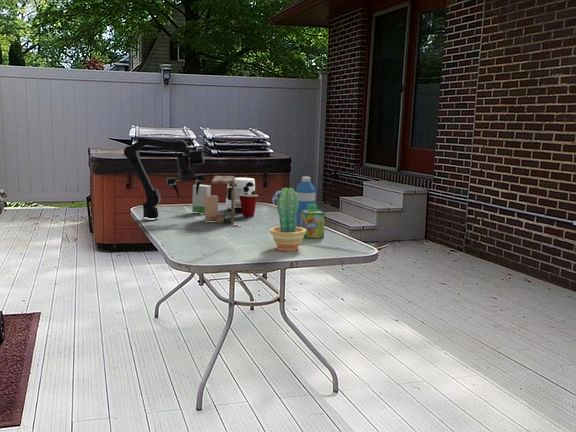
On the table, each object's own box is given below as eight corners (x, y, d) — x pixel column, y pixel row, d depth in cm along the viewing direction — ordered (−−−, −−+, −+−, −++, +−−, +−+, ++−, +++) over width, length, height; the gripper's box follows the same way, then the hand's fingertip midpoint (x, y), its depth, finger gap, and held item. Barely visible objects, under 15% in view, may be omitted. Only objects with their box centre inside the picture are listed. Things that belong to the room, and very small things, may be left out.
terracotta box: (205, 221, 299) (205, 196, 297) (206, 219, 304) (206, 195, 302) (217, 221, 299) (217, 197, 297) (217, 219, 305) (217, 195, 302)
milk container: (246, 207, 347) (246, 176, 344) (261, 211, 333) (262, 179, 330) (220, 209, 337) (220, 178, 334) (235, 213, 323) (235, 181, 320)
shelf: (203, 224, 290) (203, 180, 286) (207, 216, 313) (207, 175, 310) (233, 224, 291) (233, 181, 287) (234, 216, 314) (234, 176, 311)
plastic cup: (259, 215, 320) (260, 193, 318) (256, 218, 310) (257, 195, 308) (240, 214, 321) (240, 192, 319) (236, 217, 311) (236, 195, 309)
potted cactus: (285, 242, 252) (286, 184, 248) (313, 248, 243) (315, 188, 238) (261, 248, 240) (261, 187, 236) (290, 254, 231) (291, 191, 227)
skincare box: (192, 213, 321) (191, 185, 318) (197, 211, 327) (197, 184, 324) (206, 214, 318) (205, 186, 316) (211, 212, 324) (211, 184, 322)
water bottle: (313, 230, 280) (314, 178, 275) (293, 229, 281) (294, 177, 277) (316, 227, 289) (317, 176, 284) (297, 226, 290) (298, 175, 286)
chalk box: (305, 238, 261) (305, 206, 258) (299, 234, 270) (299, 202, 267) (324, 238, 263) (325, 205, 261) (318, 234, 272) (319, 202, 270)
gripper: (165, 168, 286) (170, 200, 288) (204, 164, 290) (208, 195, 293) (164, 167, 296) (169, 197, 299) (201, 163, 301) (205, 193, 303)
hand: (187, 196), depth 298 cm, fingers open, 9 cm apart
